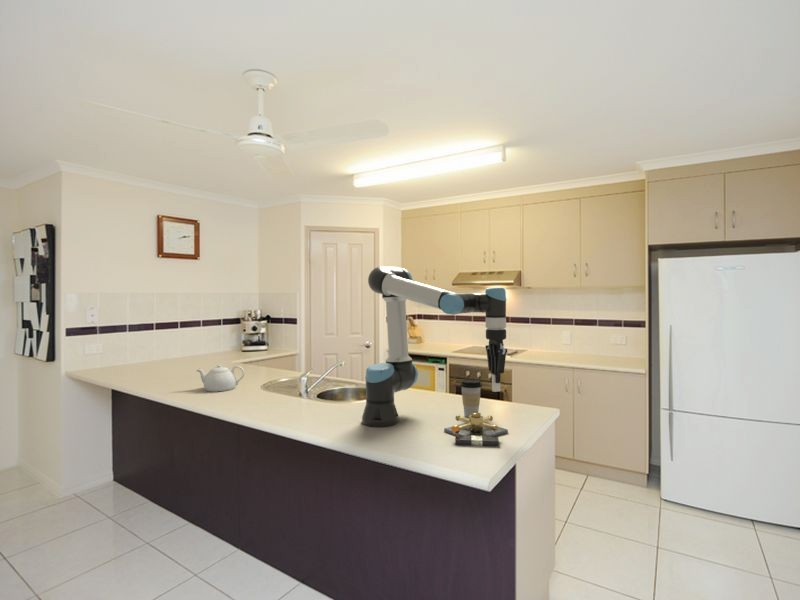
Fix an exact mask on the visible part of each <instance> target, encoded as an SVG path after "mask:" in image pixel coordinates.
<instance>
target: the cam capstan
mask: <svg viewBox="0 0 800 600" xmlns="http://www.w3.org/2000/svg"><path fill="white" fill-rule="evenodd" d="M493 417H494V416H493V415H487V416H486V417H484V416H483V415H482V414H481V412H479V411H478V412H472V413H471V415H470V416H469V417H464V416H461V415H460V414H457V415H455V420H456V421H457V422H462V423H468V424H465V425H462V426H457V425H458V424H454V425H452V426H453V427H452V426H451V427H452V432H453V433H454V434H457V433H459V432H460V430H462V429H465V428H468V427H469V430H470V431H474V432H480V431H483V427H484V428H488V429H491V430H493V431H497V430H498V427H499V426H498V425H496V424H491V425H490V423H489V422H492V421H493V420H494V418H493ZM487 422H488V424H486V423H487Z"/></svg>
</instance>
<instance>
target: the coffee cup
mask: <svg viewBox="0 0 800 600" xmlns="http://www.w3.org/2000/svg"><path fill="white" fill-rule="evenodd" d="M482 384H483V383H481V380H479V379H473V378H471V379H470V378H469V379H468V378H467V379H466V378H465V379H462V380H461V382H460V385H459V386H460V387H461V398H462V405H463V406H462V407H463V413H464V414H463V415H464V416H465V418H469V416H470V415H471V413H472V412H478V413H479V411H480V410H479V409H480V408H479V407H480V404H481V403H480V402H481V388H482V387H483V385H482Z"/></svg>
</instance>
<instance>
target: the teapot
mask: <svg viewBox="0 0 800 600" xmlns="http://www.w3.org/2000/svg"><path fill="white" fill-rule="evenodd" d="M236 368H239V369H240V371H241V372H242V375H241V377H240V378H239V379H238V378H237V376H236V374H235V372H234V370H235V369H236ZM196 372H198V373H199V374H200V379H201V382H202V383H203V388H204V390H205V391H206V392H209V391H211V392H210V393H218V391H221V392H226V391H227V392H228V391H231V390H234V389H235V388H236V387H237V386H238V385H239V382H241V380H242V379H243V378H244V377H245V369H244V368H243V367H242V366H240V365H234V366H233V367H232V369H231V368H228V367H225V366H222V364H217V365H216V367H213V368H211V369H210V370H209V371H208V372H207V373H205V371H204V370H203V369H202V368H198V369H196ZM237 379H238V380H237Z"/></svg>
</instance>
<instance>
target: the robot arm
mask: <svg viewBox="0 0 800 600" xmlns="http://www.w3.org/2000/svg"><path fill="white" fill-rule="evenodd" d="M413 280H414V279H413V276H412V274H411V273H410V271H408V269H406V268H403V267H400V266H383V265H381V266H377V267H375V268H374V269H372V270H371V271H370V273H369V275H368V279H367V282H368V286H369V288H370V290H372V291H373V292H374V293H376V294H380V295H382V296H381V297H382V300H383V301H385V307H386V308H385V310H386V325H387V346H388V357H387V358H386V360H385V362H380V363H376V364H372V365H369V366H368V367H367V368H366V369H365V370H366V371H365V407H364V409H363V413H362V415H361V416H362V417H361V422H362V424H363V425H364V426H368V427H375V428H383V427H391V426H393V425H397V424H398V423H399V414H398V411H397V407H396V404H395V394H396V393H398V392H401V391H407V390H408V389H410V388H412V387H413V386H414V385H415V384H416V383H417V381H418V376H419V373H418V372H419V371H418V368H417V367H416V365H415V364H414V363H413V358H412V357H411V356H410V355H409V346H408V345H409V342H408V325H407V308H406V307H407V305H406V301H407V300H409V301H412V302H415V303H418V304H420V305H421V304H422V305H425V306H428V307H431V308H435V309H438V310H441V311H442V312H443V313H445V315H451V316H453V315H454V316H455V315H459V314H469V313H470V314H471V313H483V314H485V329H486V330H485V338H486V340H488V344H487V345H485V347H484V348H485V350H486V351H485V352H486V358H487V367H488V371H489V372H490V374H491V392H494V393H496V392H501V376H502V374H504V373H505V366H506V358H507V353H508V349H507V348H505V347H504V340H506V339H507V329H506V327H507V319H506V318H507V293H506V289H505V288H504V287H486V288H485V290H484V291H485V292H482V293H480V292H463V293H457V292H454V291H450V290H445V289H442V288H439V287H437V286H436V287H435V286H433V285H430V284H424V283H421V282H419V281H413Z"/></svg>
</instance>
